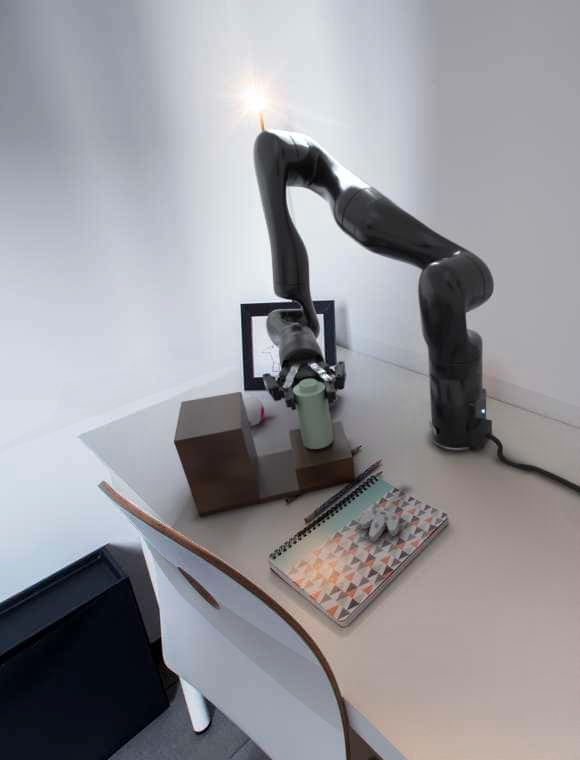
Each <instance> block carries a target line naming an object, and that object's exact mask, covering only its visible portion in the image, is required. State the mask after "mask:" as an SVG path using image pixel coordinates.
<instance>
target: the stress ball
mask: <svg viewBox="0 0 580 760" xmlns="http://www.w3.org/2000/svg"><path fill="white" fill-rule="evenodd" d="M242 397H243V401H244V405H245V409H246V413H247V417H248V420H249V424H250V427H254V426H256V425H258V424H260V423H261V422H262V420H265V419H270V417H267V416H266V417H265V407H264V404H263V402H262V401H261V400H260V399H259V398H258V397H256V396H254V395H252V394H242Z"/></svg>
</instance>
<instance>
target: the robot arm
mask: <svg viewBox="0 0 580 760" xmlns="http://www.w3.org/2000/svg"><path fill="white" fill-rule="evenodd" d="M252 151H253V152H252V153H253V154H252V155H253V157H252V159H253V168H254V173H255V178H256V182H257V183H256V184H257V188H258V192H259V198H260V202H261V207H262V212H263V216H264V220H265V225H266V230H267V235H268V240H269V246H270V256H271V269H272V270H271V271H272V286H273V293H274V295H275V296H276V297H278V298H280V299H282V300H283V299H284V300H288V301H292V302H295V303H297V304H299V305H300V307H301V308H279V309H274V310H272V311H271V312H269V314H268V315H267V317H266V320H265V329H266V332H267V333H266V334H267V335H268V337H269V340H270V341H271V342H272V344H273V345H275V346H276V347H277V348H278V359H279V364H280V371H278V374H276V375H271V373H269V372H267V373H263V374H262V379H263V383H264V388H265V390H266V391H267V393H268V394H269V395H270V397H271V398H272V400H273V401H274V402H280V401H282V399H284V402H285V406H286V408H287V409H291V411H297V410H296V404H295V399H294V394H293V388H294V387H295V386H296V385H298V384H299V382H300V381H302V380H305V379H315V380H316V381H319V382H322V383H323V384H324V385H325V389H326V395H327V400H328V403H329V404H330V403H332V404H334V402H333V400H335V399H336V398H337V397H336V395H337V392H336V391H335V389H338V390H337V391H343V390H344V389H345V388H346V387H345V386H346V378H347V370H346V364H345V361H344V360H340V361H338V362H337V363H336V364H335V365H330V364H328V363H327V362H326V361H325V358H324V355H323V352H322V349H321V346H320V343H318V341H317V339H318V338H319V336H320V333H321V324H320V321H319V317H318V315H317V312H316V309H315V305H314V302H313V299H312V293H311V283H310V278H311V277H310V260H309V254H308V250H307V247H306V244H305V243H304V240H303V238H302V236H301V234H300V233H299V231H298V229H297V227H296V225H295V223H294V221H293V218H292V216H291V214H290V209H289V206H288V198H287V197H288V195H287V187H289V188H290V187H291V188H303V189H306V190H309V191H311V192H312V193H314V194H316V195H317V196H319V197H320V198H322V199H323V200H324V201H325V202H327V204H328V206H329V209H330V213H331V215H332V218H333V221H334V222H335V224H336V226H337V227H338V228H339V229H340V230H341V232H342V233H344V234H345V235H346V236H347V237H349V238H350V239H352V240H353V241H354V242H355V243H357V245H359V246H361V247H362V248H363V249H365V250H367V251H369V252H371V253H373V254H375V255H378V256H381V257H384V258H387V259H391V260H393V261H398V262H401V263H404V264H407V265H410V266H413V267H415V268H417V269H419V270H421V271H420V274H419V276H418V280H417V281H418V283H417V299H418V300H417V301H418V308H419V316H420V327H421V333H422V337H423V340H424V342H425V344H426V347H427V359H428V361H427V362H428V379H429V381H428V382H429V397H430V416H431V417H430V418H431V420H429V421H428V422H429V427H430V429H431V441H432V442H433V444H434V445H435V446H436V447H438V448H439V449H442V450H444V451H449V452H465V451H477V449H483V450H484V449H485V448H486V445H487V444H488V442H489V441H492V442H493V443H494V444H495V445H496V446H497V450H496V455H497V457H498V459H499V460H500V461H501V462H502V463H503V464H505V465H506V466H508V467H509V466H510V467H513V468H516V469H520V470H525V471H530V472H531V471H532V472H534V473H537V474H539V475H541V476H545V477H546V478H548V479H551V480H553V481H555V482H557V483H559V484H560V485H561V484H562V485H564V486H566V487H568V488H570V489H572V490H574V491H575V492H577V493H579V494H580V485H578V484H576V483H573V482H572V481H569V480H568V479H566V478H563V477H561V476H559V475H557V474H555V473H553V472H551V471H548V470H546V469H544V468H542V467H538V466H536V465H532V464H526V463H518V462H514V461H511V460H509V459H508V458H506V457H505V456H504V454H503V452H504V451H503V450H504V445H503V443H502V442H501V440H500V439H499V438H498V437H497V436H495V435H494V434H493V420H492V419H487V389H486V388H483V359H484V358H483V357H484V355H483V349H484V348H483V346H484V345H483V344H484V343H483V338H482V336H481V335H480V334H479V333H478V332H477V331H475V330H473V329H470V328H468V325H467V313H470V312H471V311H474V310H475V309H477V308H479V307H480V306H483V305H484V304H485V303H486V302H488V301H489V300H490V299H491V297H492V295H493V293H494V289H495V283H494V277H493V275H492V272H491V269H490V268H489V266H488V265H487V263H485V261H484V260H483V259H481V257H479V256H478V255H477V254H475V252H472V251H470V250H469V249H467V248H465V247H463V246H461V245H460V244H458V243H456V242H454V241H453V240H450V239H448V238H447V237H445V236H443V235H442V234H440V233H438V232H436V231H435V230H433V229H432V228H430V227H429V226H428V225H426V224H425V223H424V222H422V221H421V220H419V219H418V218H416V217H415V216H413V215H412V214H410V213H409V212H408V211H406V210H405V209H403V208H402V207H400V206H399V205H398V204H397V203H396V202H394V201H393V200H392V199H391V198H389V197H388V196H386V195H385V194H383V193H382V192H381V191H380V190H378V189H377V188H375V187H373V186H372V185H371V184H370V183H369V184H368V183H367V182H366V181H364V179H362V178H360V177H359V176H358V175H356V174H355V173H354V172H352V171H350V170H349V169H347V168H345V167H344V166H343V165H342V164H340V163H339V162H338V161H337V160H336V159H335V158H334V157H333V156H332V155H331V154H329V153H328V152H327V151H326V150H325V149H324V148H323V147H322V146H321V145H320V144H319V143H318V142H316V141H315V140H314V139H313V138H311V137H310V136H308V135H306V134H303V133H299V132H293V131H285V130H277V129H266V130H263V131H261V132H260V133H259V134H258V135H257V136H256V138H255V140H254V143H253V150H252ZM332 374H333V375H334V376H335V378H332V377H330V375H332ZM279 383H281V384H283V385H282V386H280V385H279Z"/></svg>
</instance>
